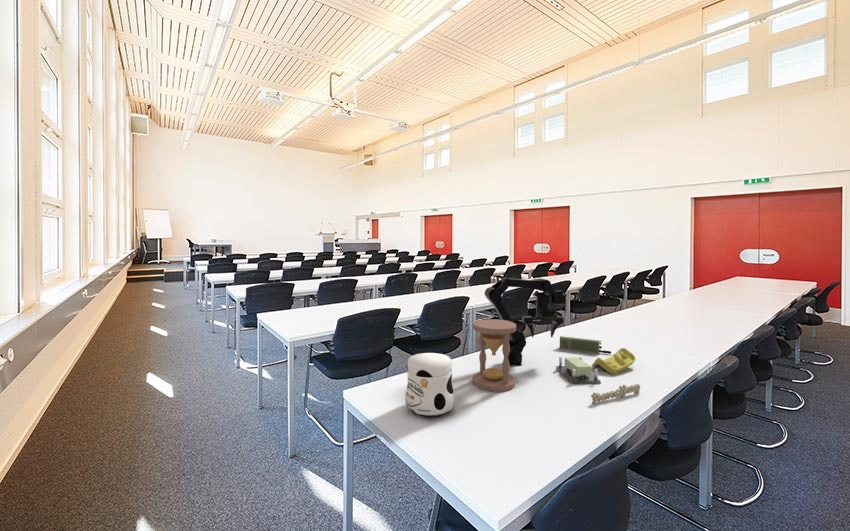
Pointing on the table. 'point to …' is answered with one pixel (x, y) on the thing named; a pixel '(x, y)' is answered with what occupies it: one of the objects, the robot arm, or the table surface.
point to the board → (578, 366)
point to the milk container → (429, 384)
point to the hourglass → (494, 339)
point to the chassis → (577, 378)
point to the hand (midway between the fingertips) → (542, 337)
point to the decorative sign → (615, 393)
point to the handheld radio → (581, 345)
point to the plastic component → (616, 361)
